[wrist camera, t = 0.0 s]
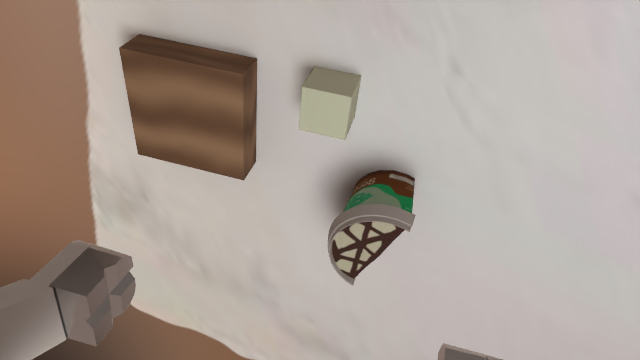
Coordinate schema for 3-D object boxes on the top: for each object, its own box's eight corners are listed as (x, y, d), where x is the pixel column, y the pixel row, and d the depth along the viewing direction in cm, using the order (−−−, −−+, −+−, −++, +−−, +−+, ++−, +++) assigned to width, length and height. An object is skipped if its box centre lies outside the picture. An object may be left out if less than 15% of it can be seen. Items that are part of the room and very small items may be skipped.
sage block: (315, 65, 51) (302, 86, 47) (361, 75, 50) (351, 97, 46) (311, 106, 54) (298, 129, 50) (354, 116, 53) (345, 140, 49)
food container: (377, 142, 54) (361, 196, 47) (422, 170, 55) (413, 228, 48) (326, 205, 62) (304, 261, 55) (366, 229, 63) (350, 287, 55)
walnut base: (139, 34, 54) (119, 47, 51) (257, 58, 52) (243, 74, 49) (154, 137, 63) (138, 154, 60) (255, 161, 61) (243, 180, 58)
